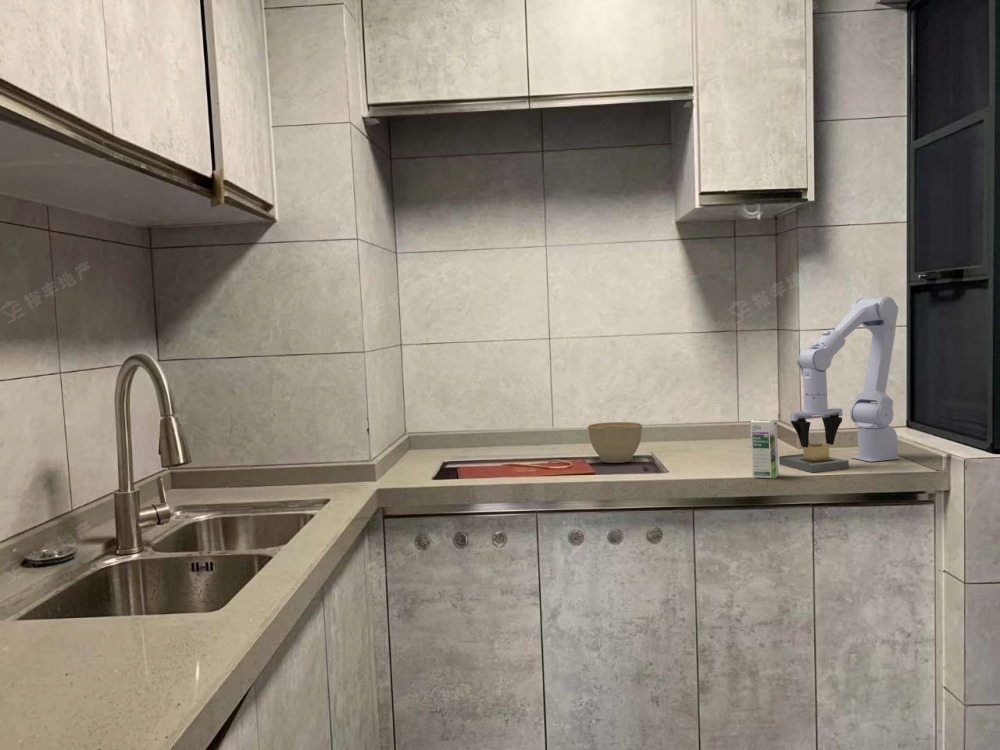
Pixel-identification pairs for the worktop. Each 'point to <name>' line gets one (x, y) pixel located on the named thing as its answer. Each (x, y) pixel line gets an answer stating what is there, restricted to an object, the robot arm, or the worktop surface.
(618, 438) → the planter bowl
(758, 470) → the syrup box
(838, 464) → the rail plate
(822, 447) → the block
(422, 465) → the worktop surface
